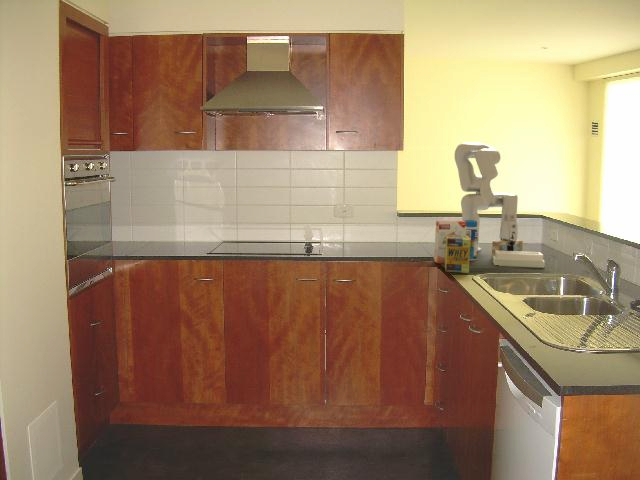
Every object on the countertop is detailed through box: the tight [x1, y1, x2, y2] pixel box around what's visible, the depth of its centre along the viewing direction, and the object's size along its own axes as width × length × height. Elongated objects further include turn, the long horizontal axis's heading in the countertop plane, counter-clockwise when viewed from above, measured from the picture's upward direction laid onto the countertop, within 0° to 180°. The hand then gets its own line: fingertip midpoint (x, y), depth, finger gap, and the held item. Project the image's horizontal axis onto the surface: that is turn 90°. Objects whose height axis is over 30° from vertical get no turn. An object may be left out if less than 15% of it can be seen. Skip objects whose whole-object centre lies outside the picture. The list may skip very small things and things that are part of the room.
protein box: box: [444, 235, 470, 274], centre depth 282 cm, size 10×15×16 cm
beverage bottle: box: [464, 220, 479, 262], centre depth 310 cm, size 8×8×20 cm
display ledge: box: [492, 251, 546, 269], centre depth 297 cm, size 23×10×6 cm, turn 79°
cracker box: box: [433, 220, 467, 264], centre depth 300 cm, size 14×6×21 cm, turn 96°
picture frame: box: [491, 239, 524, 259], centre depth 318 cm, size 16×4×9 cm, turn 110°
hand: (507, 252), depth 318 cm, fingers open, 5 cm apart
